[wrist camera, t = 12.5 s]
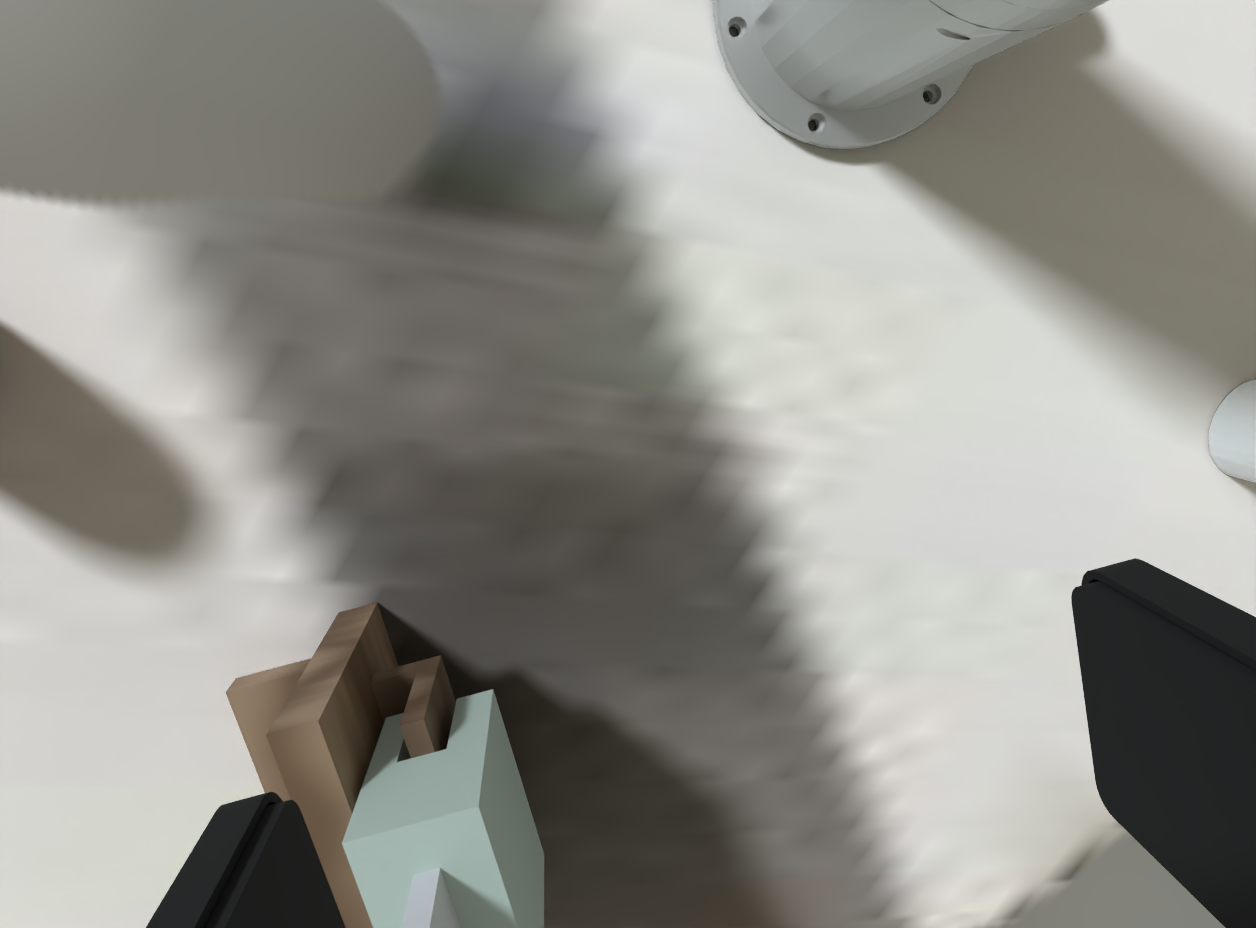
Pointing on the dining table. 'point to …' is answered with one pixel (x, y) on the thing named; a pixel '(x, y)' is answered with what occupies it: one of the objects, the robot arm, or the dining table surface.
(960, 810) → the dining table surface
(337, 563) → the dining table surface
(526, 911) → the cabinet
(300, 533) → the dining table surface
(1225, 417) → the white pointed crystal
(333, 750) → the brown boxy piece
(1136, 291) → the dining table surface
